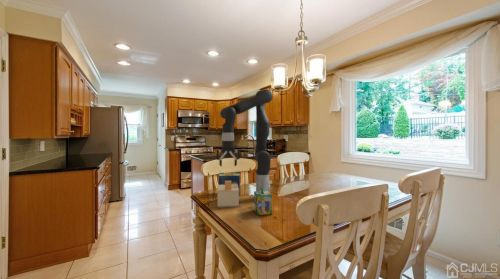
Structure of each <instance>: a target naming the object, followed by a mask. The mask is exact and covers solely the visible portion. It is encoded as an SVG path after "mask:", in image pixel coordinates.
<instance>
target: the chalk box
mask: <svg viewBox="0 0 500 279" xmlns="http://www.w3.org/2000/svg"><path fill="white" fill-rule="evenodd" d="M260 188H261V191H256V190H255V191H254V192H253V194H254V195H253V198H254V199H253V203H254V206H253V210H254V212H255V215H256V216H267V215H273V194H272V193H271V191H270V192H269V191H263V189H262V187H261V186H260Z"/></svg>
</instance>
